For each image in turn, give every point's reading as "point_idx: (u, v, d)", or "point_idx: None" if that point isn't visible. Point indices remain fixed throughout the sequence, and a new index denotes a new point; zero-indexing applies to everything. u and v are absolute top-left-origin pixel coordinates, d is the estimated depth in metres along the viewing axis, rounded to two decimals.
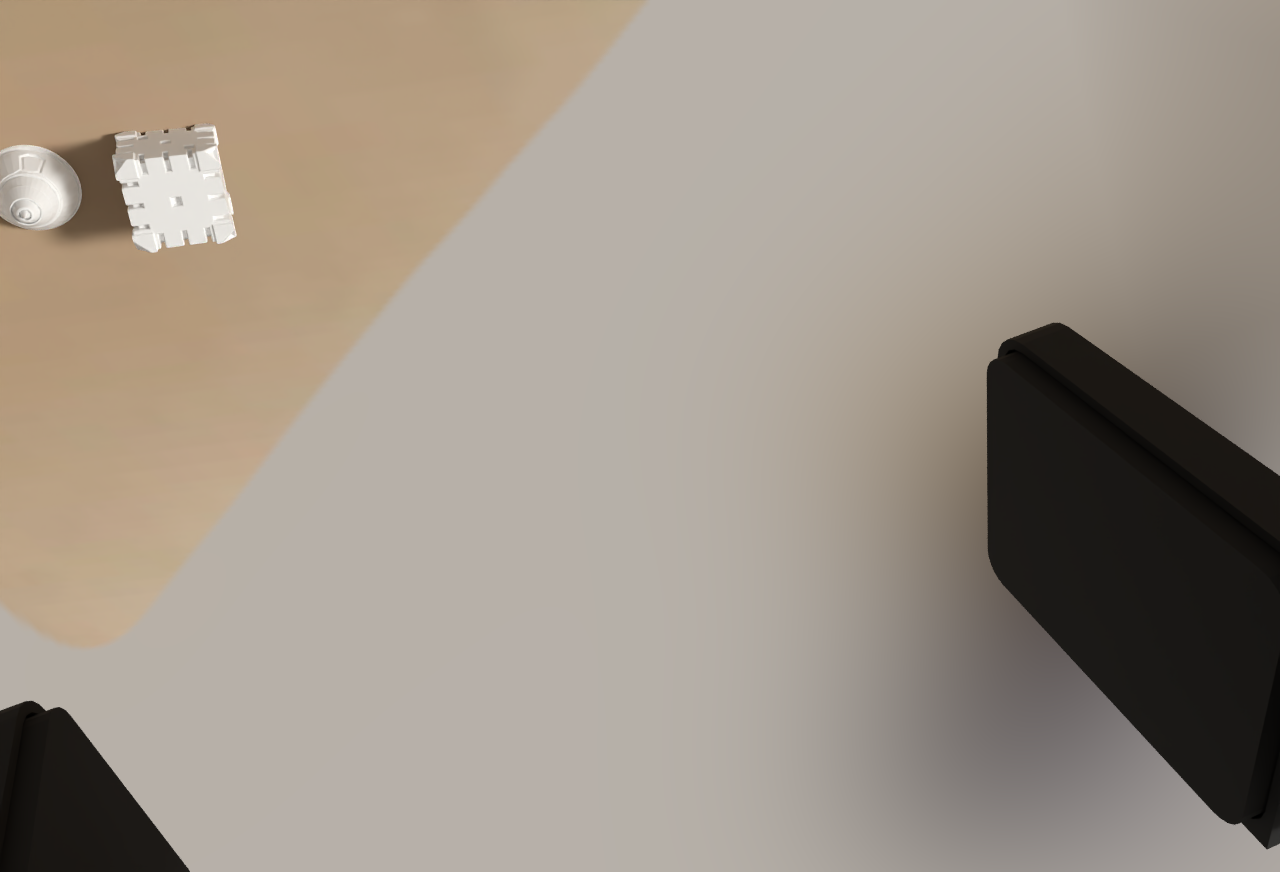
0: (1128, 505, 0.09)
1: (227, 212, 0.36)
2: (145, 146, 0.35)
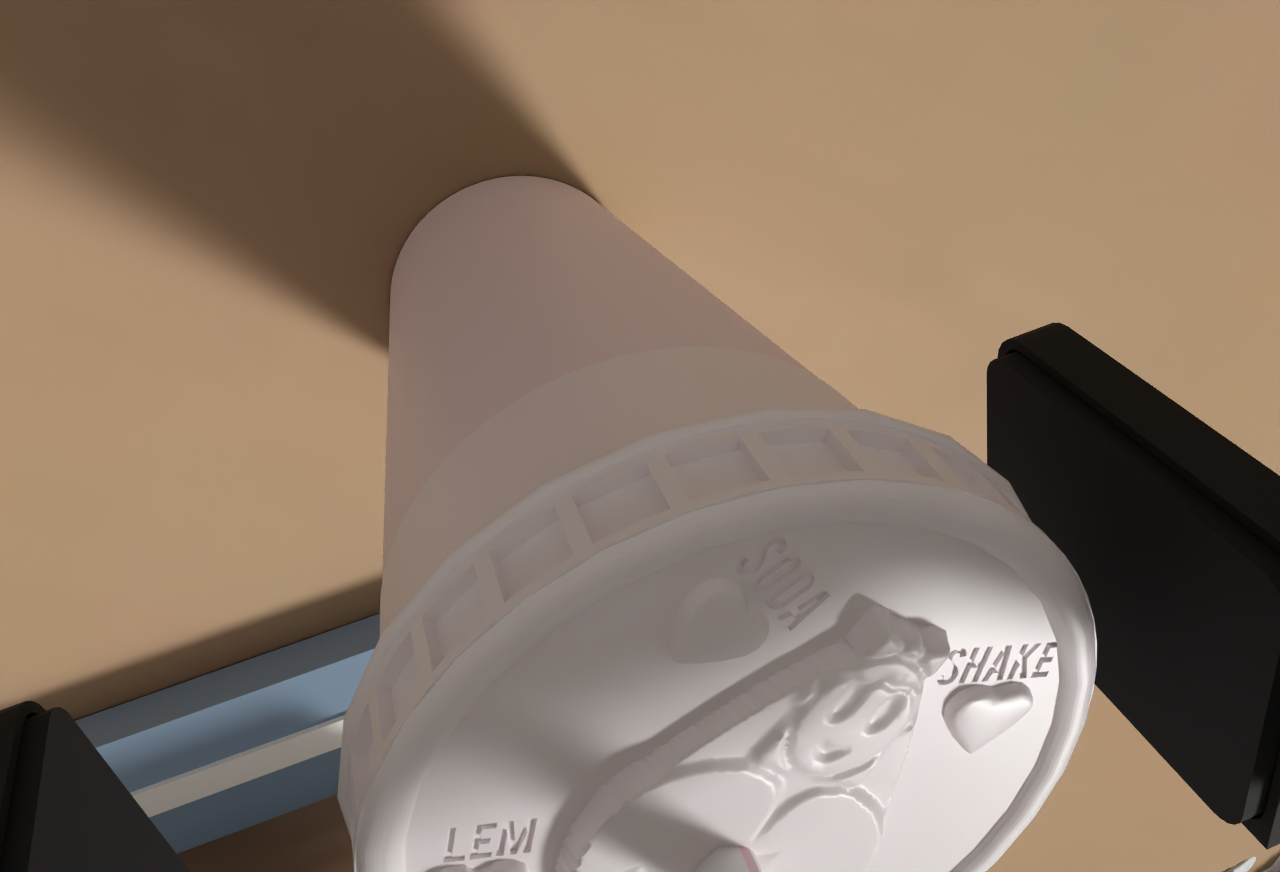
0: (1128, 505, 0.09)
1: None
2: None
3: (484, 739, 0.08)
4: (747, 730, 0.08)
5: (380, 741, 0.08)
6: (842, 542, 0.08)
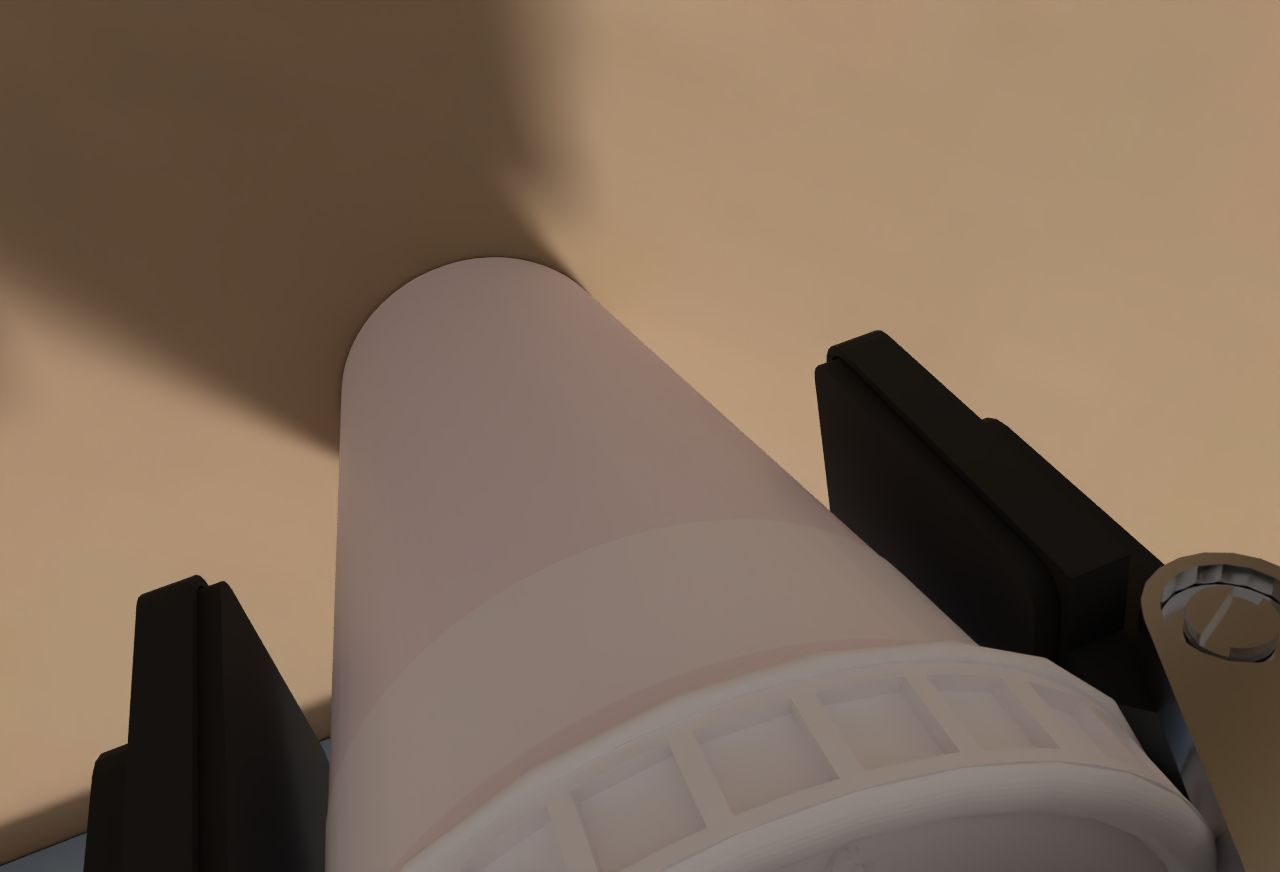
0: (921, 505, 0.10)
1: None
2: None
3: None
4: None
5: None
6: (930, 839, 0.06)
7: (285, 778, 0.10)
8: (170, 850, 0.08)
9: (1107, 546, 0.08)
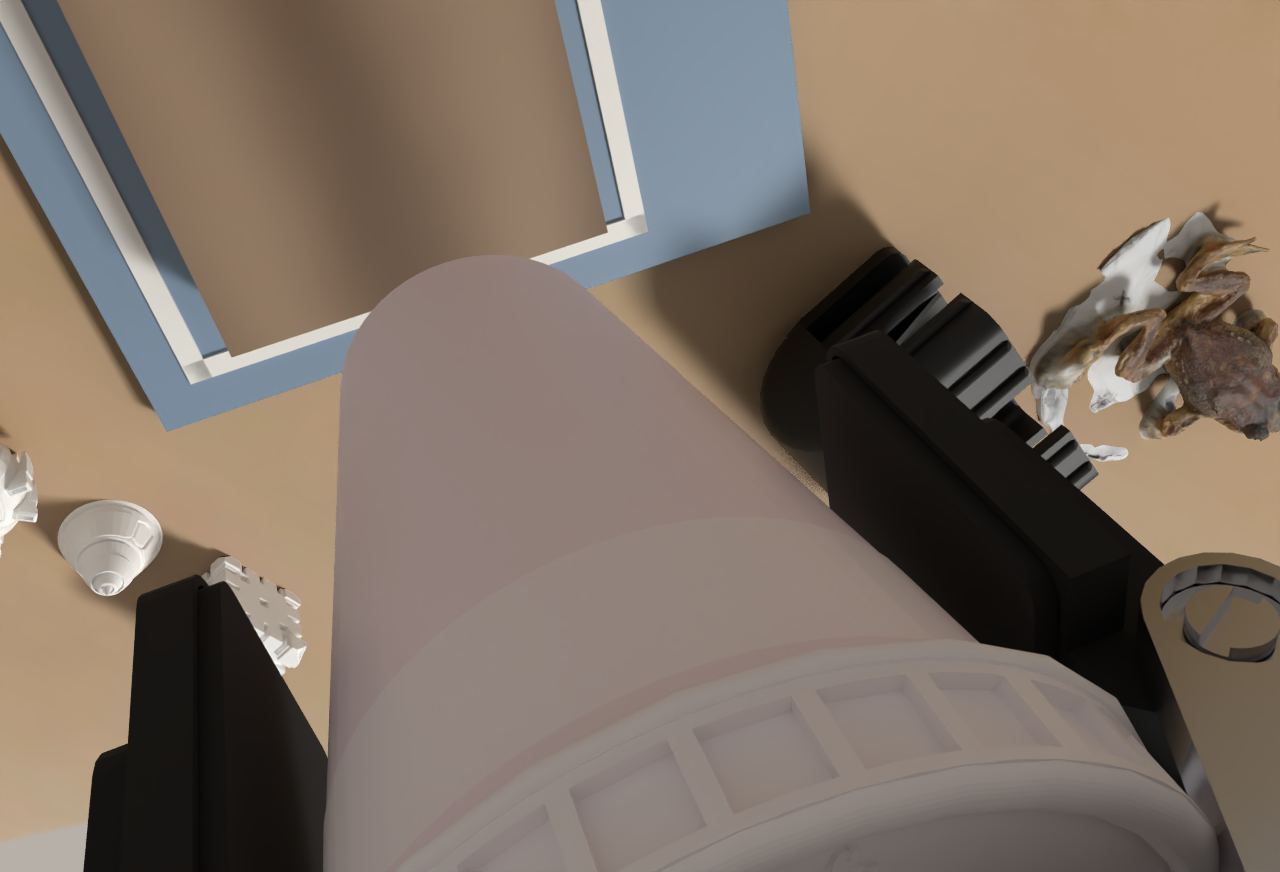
0: (921, 505, 0.10)
1: None
2: (249, 600, 0.34)
3: None
4: None
5: None
6: (932, 837, 0.06)
7: (285, 778, 0.10)
8: (171, 849, 0.08)
9: (1107, 546, 0.08)
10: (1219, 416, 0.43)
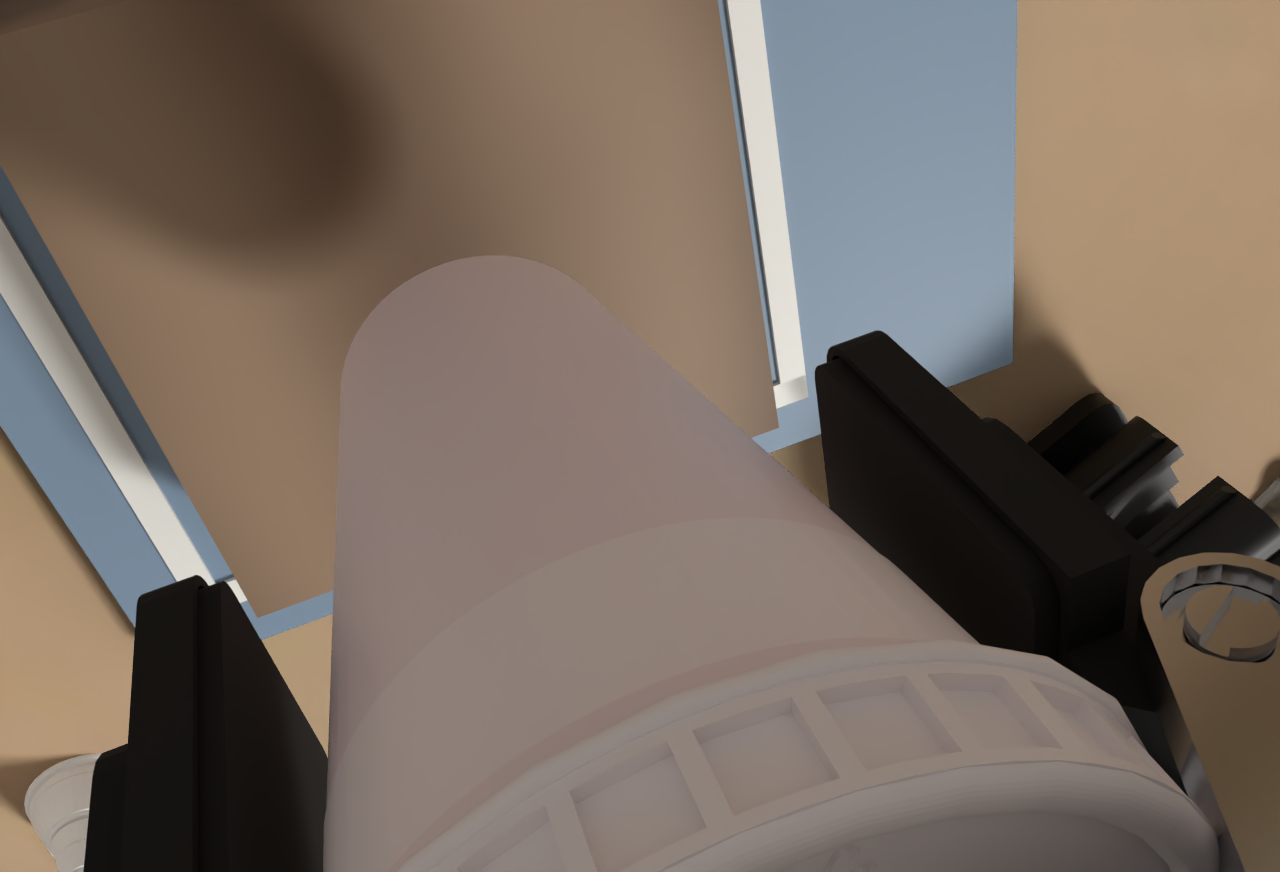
0: (921, 505, 0.10)
1: None
2: None
3: None
4: None
5: None
6: (932, 839, 0.06)
7: (285, 777, 0.10)
8: (170, 849, 0.08)
9: (1106, 546, 0.08)
10: None
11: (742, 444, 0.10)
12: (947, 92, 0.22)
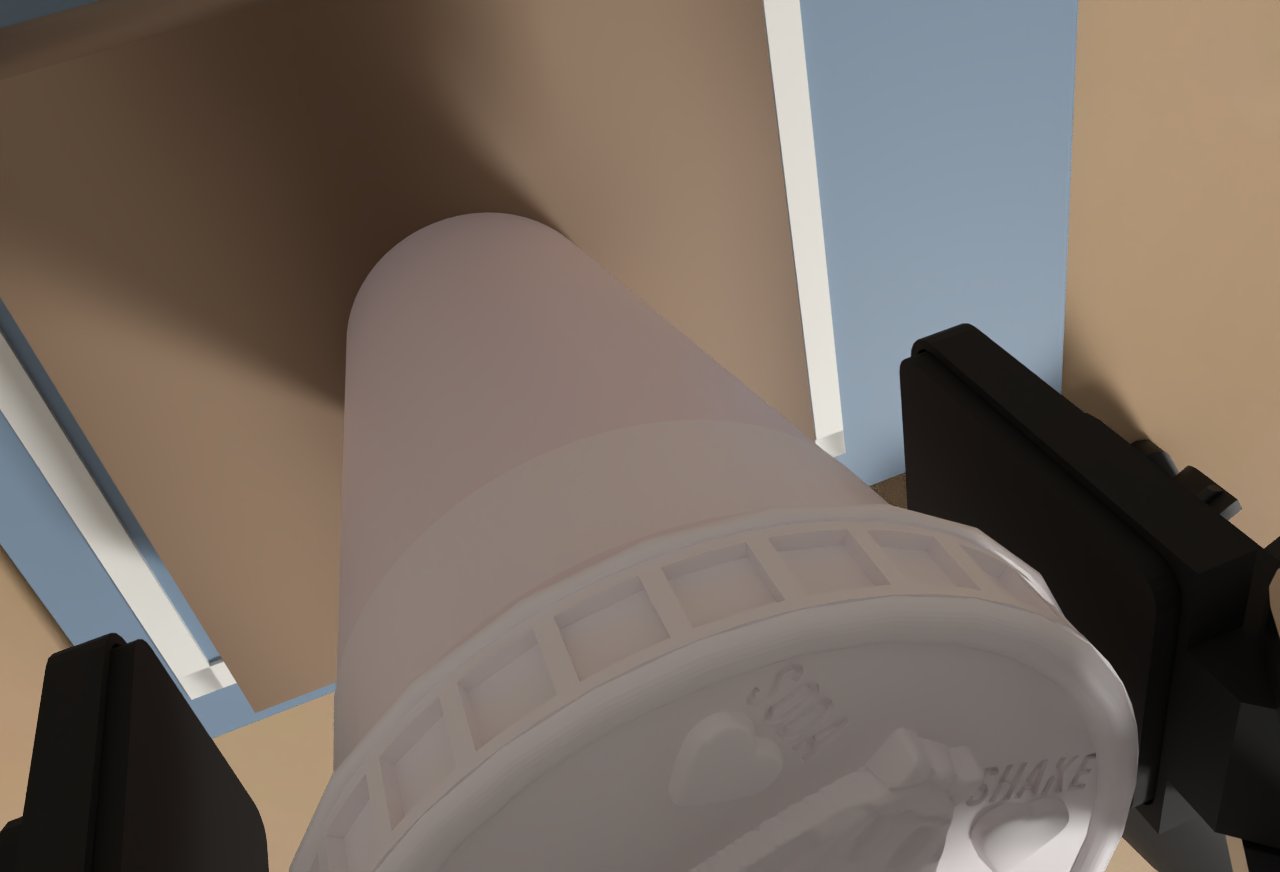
0: (1022, 500, 0.10)
1: None
2: None
3: None
4: None
5: None
6: (866, 664, 0.07)
7: (202, 846, 0.09)
8: None
9: (1231, 541, 0.08)
10: None
11: (717, 370, 0.11)
12: (1000, 130, 0.20)
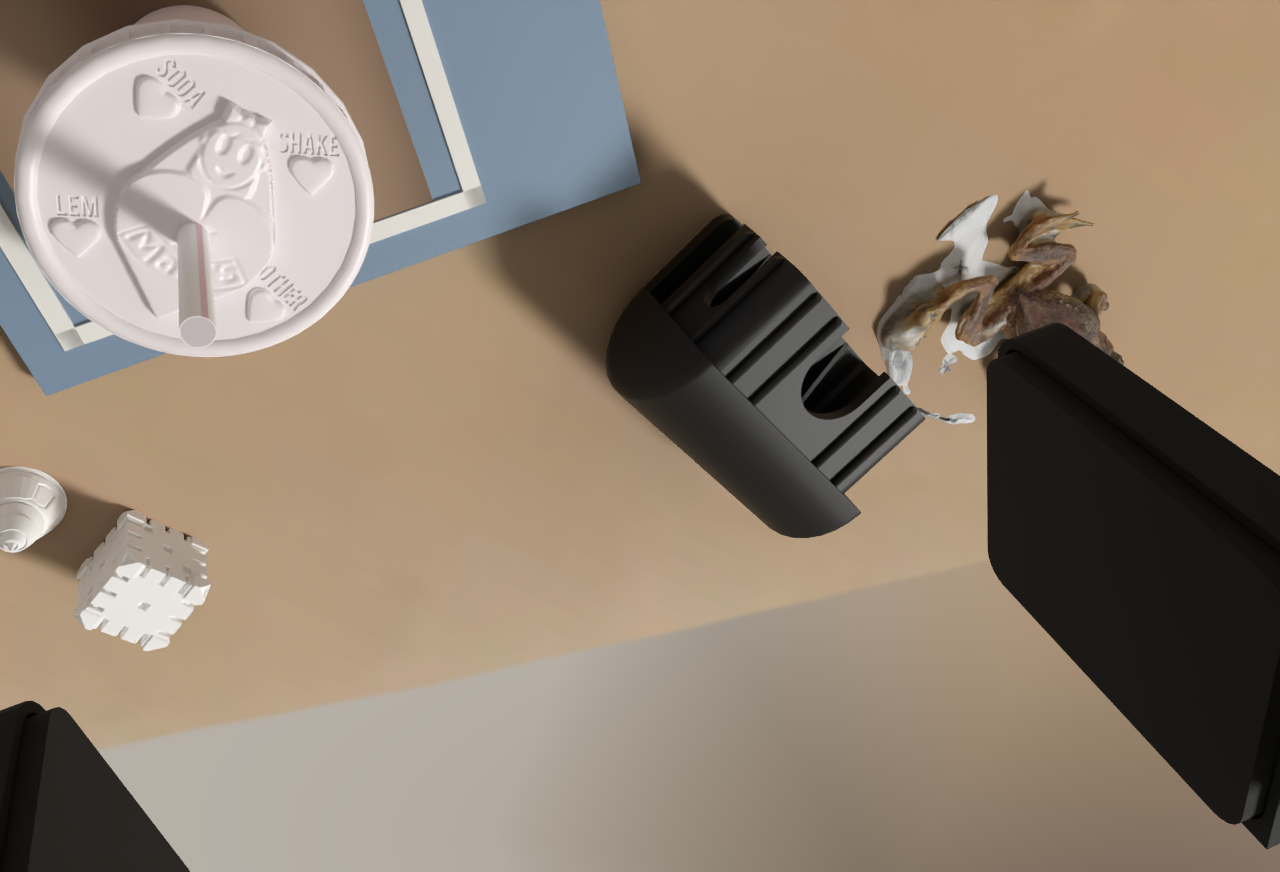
0: (1128, 505, 0.09)
1: (173, 633, 0.38)
2: (151, 547, 0.37)
3: (62, 146, 0.20)
4: (181, 155, 0.20)
5: (18, 145, 0.19)
6: (202, 65, 0.20)
7: None
8: None
9: None
10: None
11: None
12: None
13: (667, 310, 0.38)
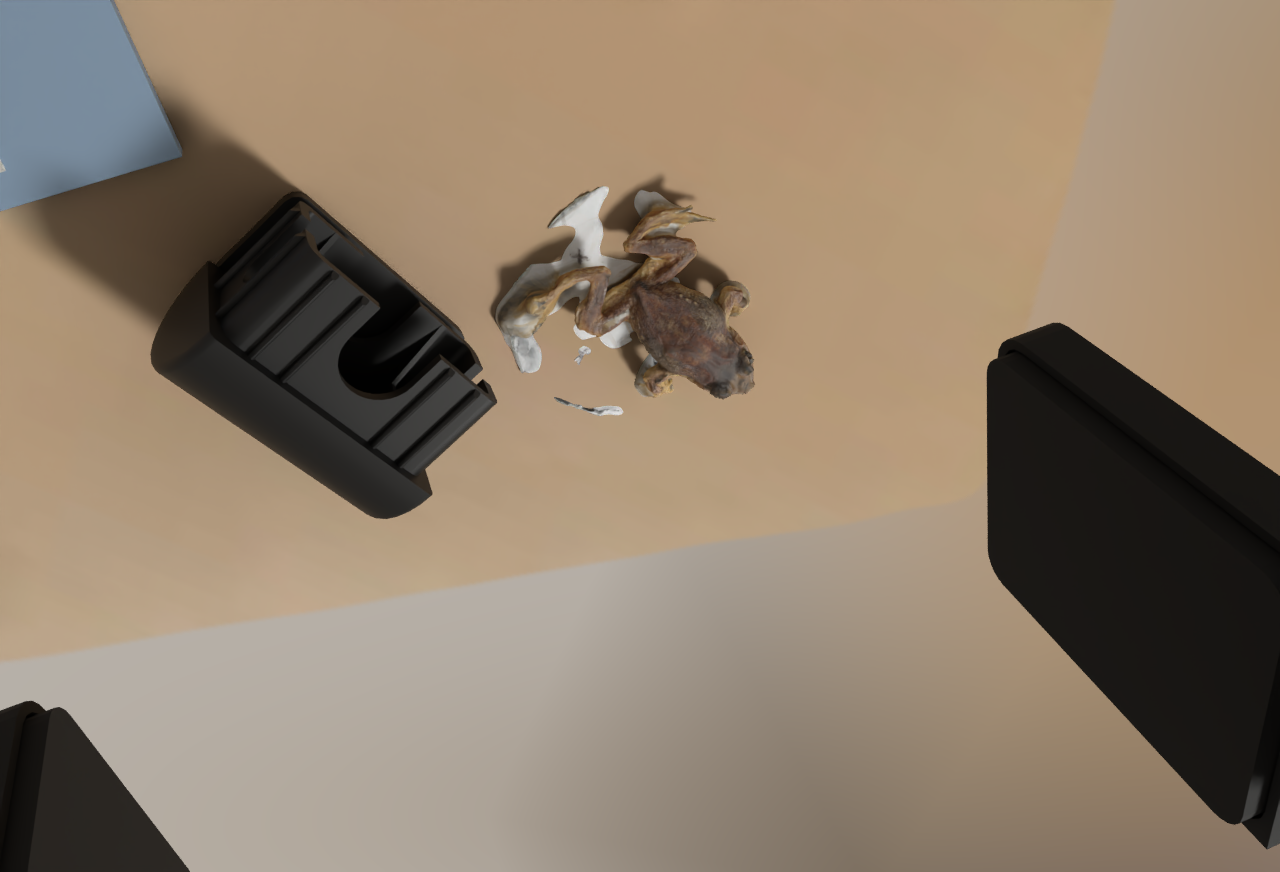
0: (1128, 505, 0.09)
1: None
2: None
3: None
4: None
5: None
6: None
7: None
8: None
9: None
10: (683, 374, 0.47)
11: None
12: None
13: (215, 285, 0.38)
